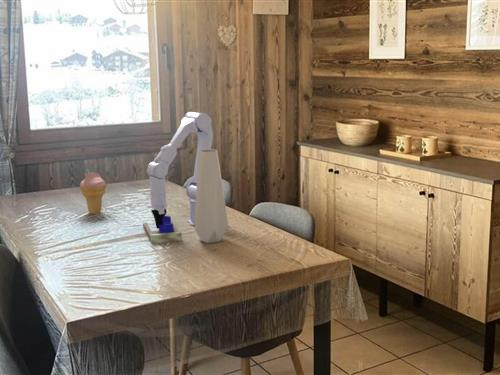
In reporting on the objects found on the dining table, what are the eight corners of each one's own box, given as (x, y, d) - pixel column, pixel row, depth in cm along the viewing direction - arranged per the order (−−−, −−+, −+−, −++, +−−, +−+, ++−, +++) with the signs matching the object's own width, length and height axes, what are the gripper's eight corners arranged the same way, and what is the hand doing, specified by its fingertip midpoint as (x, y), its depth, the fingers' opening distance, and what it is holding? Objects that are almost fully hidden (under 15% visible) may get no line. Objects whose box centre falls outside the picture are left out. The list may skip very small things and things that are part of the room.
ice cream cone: (76, 214, 258) (73, 168, 254) (92, 208, 268) (89, 164, 264) (98, 217, 254) (94, 170, 250) (113, 210, 264) (110, 165, 260)
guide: (171, 225, 241) (170, 217, 240) (181, 240, 221) (181, 232, 220) (143, 227, 238) (142, 220, 237) (151, 243, 218) (150, 235, 217)
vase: (232, 236, 225) (230, 148, 218) (221, 245, 214) (218, 153, 207) (202, 233, 229) (199, 147, 222) (189, 242, 218) (186, 152, 211)
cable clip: (159, 231, 232) (158, 216, 231) (170, 230, 233) (170, 215, 232) (161, 241, 221) (160, 225, 219) (173, 240, 222) (173, 224, 220)
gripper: (144, 190, 236) (146, 223, 239) (150, 198, 222) (151, 234, 225) (162, 188, 238) (164, 222, 241) (169, 196, 225) (170, 232, 227)
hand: (159, 227), depth 233 cm, fingers closed
